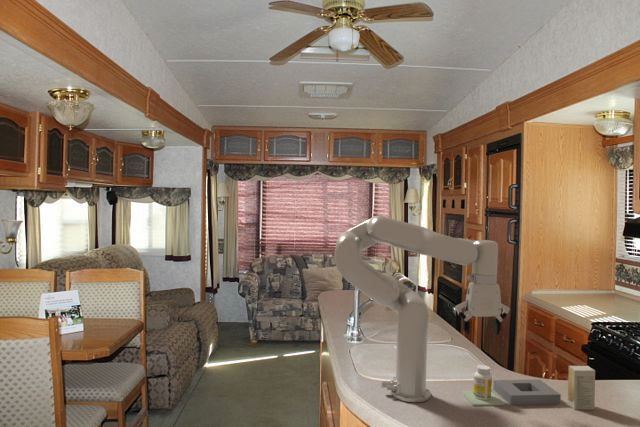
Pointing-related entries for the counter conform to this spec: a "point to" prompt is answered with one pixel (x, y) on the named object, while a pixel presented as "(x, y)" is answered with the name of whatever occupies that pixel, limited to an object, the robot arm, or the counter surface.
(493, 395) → the rubber mat
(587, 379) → the skincare box
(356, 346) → the counter surface
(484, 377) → the supplement bottle
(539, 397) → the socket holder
